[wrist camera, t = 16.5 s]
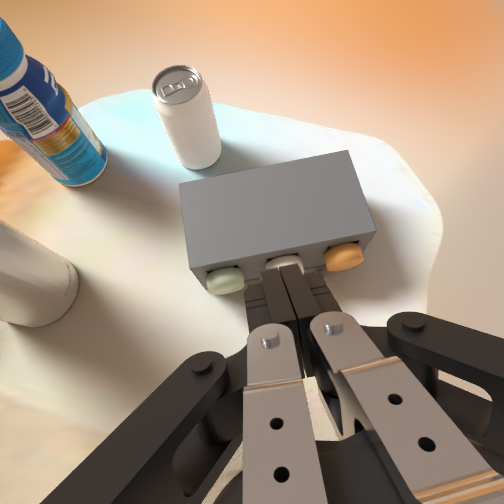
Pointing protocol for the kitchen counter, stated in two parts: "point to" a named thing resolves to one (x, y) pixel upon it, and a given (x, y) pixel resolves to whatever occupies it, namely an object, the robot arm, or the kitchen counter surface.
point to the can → (187, 116)
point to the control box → (274, 214)
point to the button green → (225, 280)
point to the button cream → (284, 262)
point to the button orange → (343, 256)
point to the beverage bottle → (45, 117)
